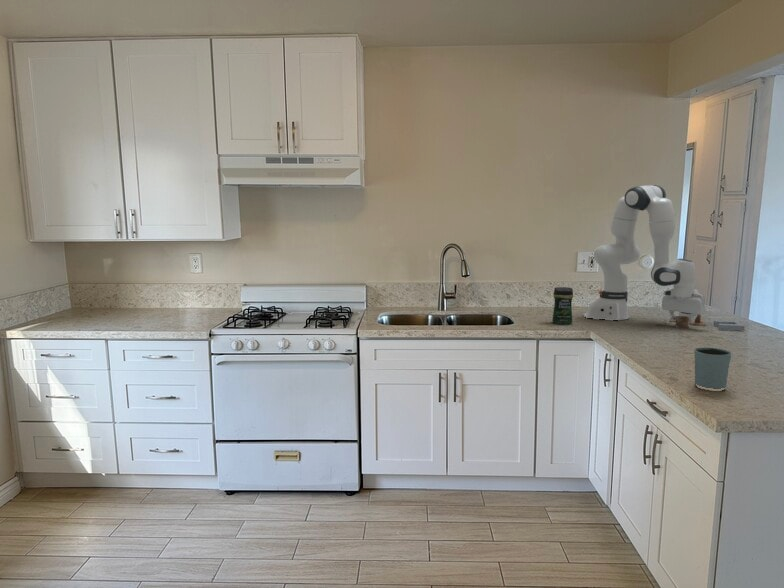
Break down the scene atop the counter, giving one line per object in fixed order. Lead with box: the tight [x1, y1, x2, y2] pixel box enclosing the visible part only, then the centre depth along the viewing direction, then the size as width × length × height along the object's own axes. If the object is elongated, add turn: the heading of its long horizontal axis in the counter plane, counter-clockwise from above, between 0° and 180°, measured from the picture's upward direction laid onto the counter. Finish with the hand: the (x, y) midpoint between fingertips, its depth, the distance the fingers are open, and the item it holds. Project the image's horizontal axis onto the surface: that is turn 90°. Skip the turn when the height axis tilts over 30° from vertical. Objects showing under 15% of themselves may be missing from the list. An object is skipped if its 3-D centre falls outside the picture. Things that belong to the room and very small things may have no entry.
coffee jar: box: [552, 286, 574, 325], centre depth 272 cm, size 10×8×19 cm
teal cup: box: [694, 347, 732, 389], centre depth 172 cm, size 10×10×12 cm
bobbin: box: [688, 314, 706, 327], centre depth 264 cm, size 7×7×12 cm
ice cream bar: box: [668, 315, 690, 329], centre depth 260 cm, size 8×3×5 cm, turn 72°
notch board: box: [713, 319, 746, 331], centre depth 255 cm, size 10×11×2 cm
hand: (682, 321), depth 259 cm, fingers open, 8 cm apart
